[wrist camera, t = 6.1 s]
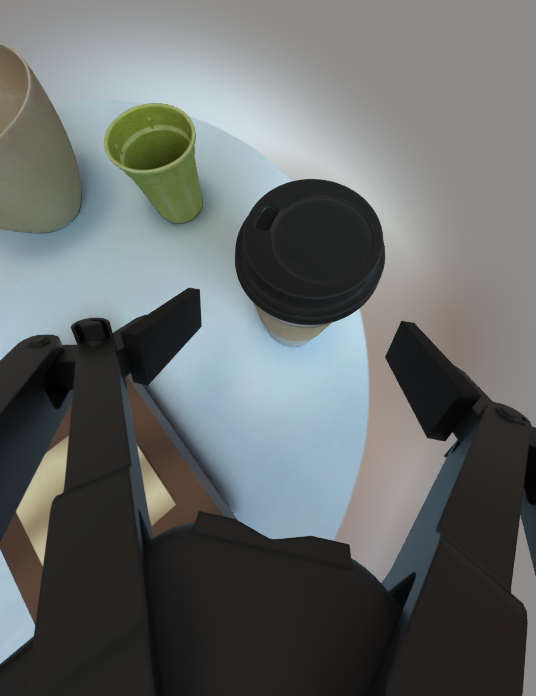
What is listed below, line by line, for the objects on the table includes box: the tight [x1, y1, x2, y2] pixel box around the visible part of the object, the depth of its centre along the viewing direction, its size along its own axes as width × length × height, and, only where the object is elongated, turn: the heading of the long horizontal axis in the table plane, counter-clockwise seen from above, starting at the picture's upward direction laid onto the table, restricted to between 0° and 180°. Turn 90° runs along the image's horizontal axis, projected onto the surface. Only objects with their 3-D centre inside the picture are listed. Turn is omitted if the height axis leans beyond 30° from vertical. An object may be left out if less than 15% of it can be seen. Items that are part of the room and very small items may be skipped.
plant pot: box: [104, 103, 203, 223], centre depth 28 cm, size 9×9×9 cm
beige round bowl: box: [0, 42, 81, 233], centre depth 27 cm, size 18×18×12 cm
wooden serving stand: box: [0, 373, 237, 625], centre depth 22 cm, size 24×16×4 cm, turn 40°
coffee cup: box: [235, 179, 385, 347], centre depth 20 cm, size 9×9×15 cm
